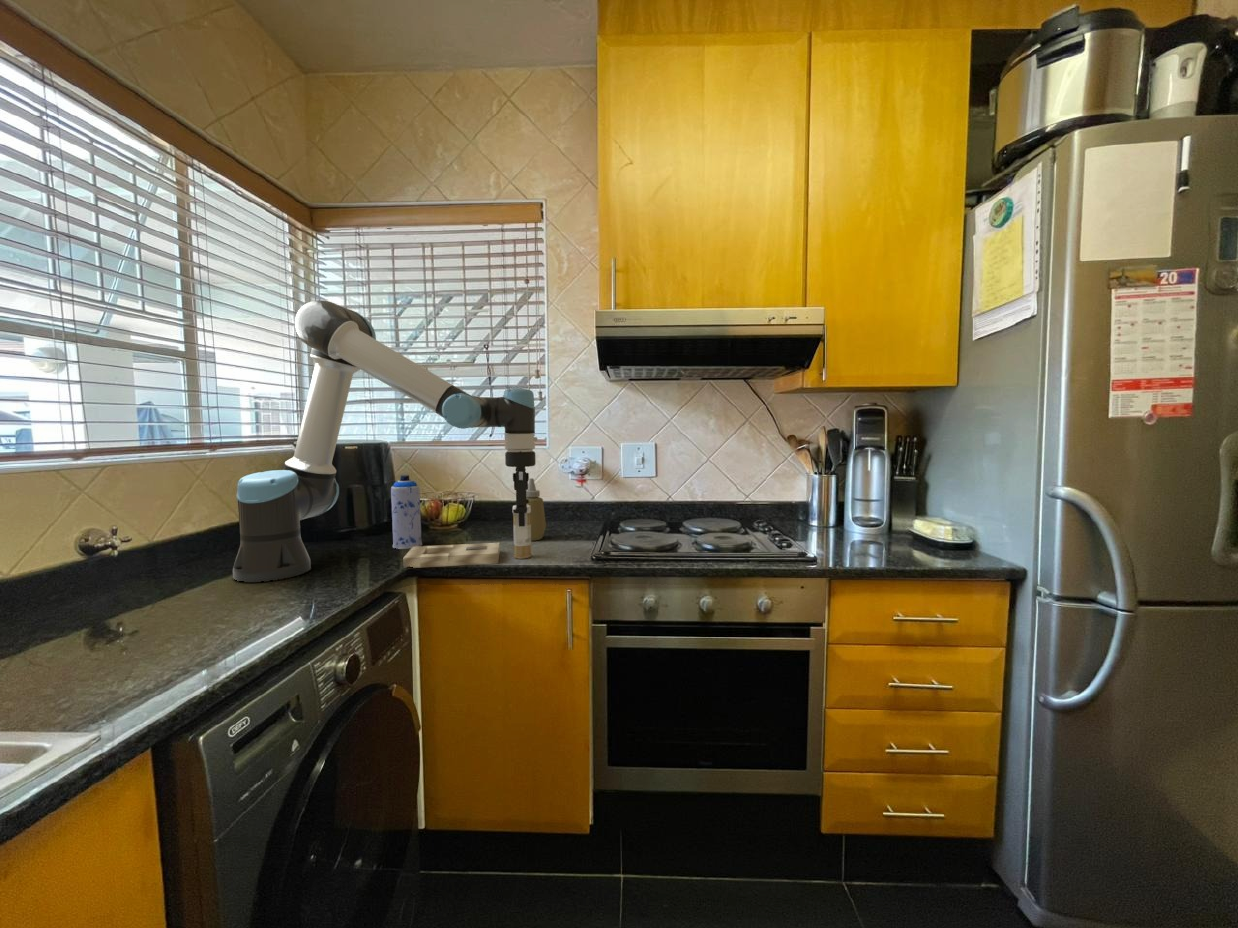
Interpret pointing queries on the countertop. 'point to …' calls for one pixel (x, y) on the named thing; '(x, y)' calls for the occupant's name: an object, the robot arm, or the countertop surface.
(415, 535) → the aerosol can
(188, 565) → the countertop surface
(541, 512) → the squeeze bottle
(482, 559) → the holder block
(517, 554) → the sprinkles bottle
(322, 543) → the countertop surface
